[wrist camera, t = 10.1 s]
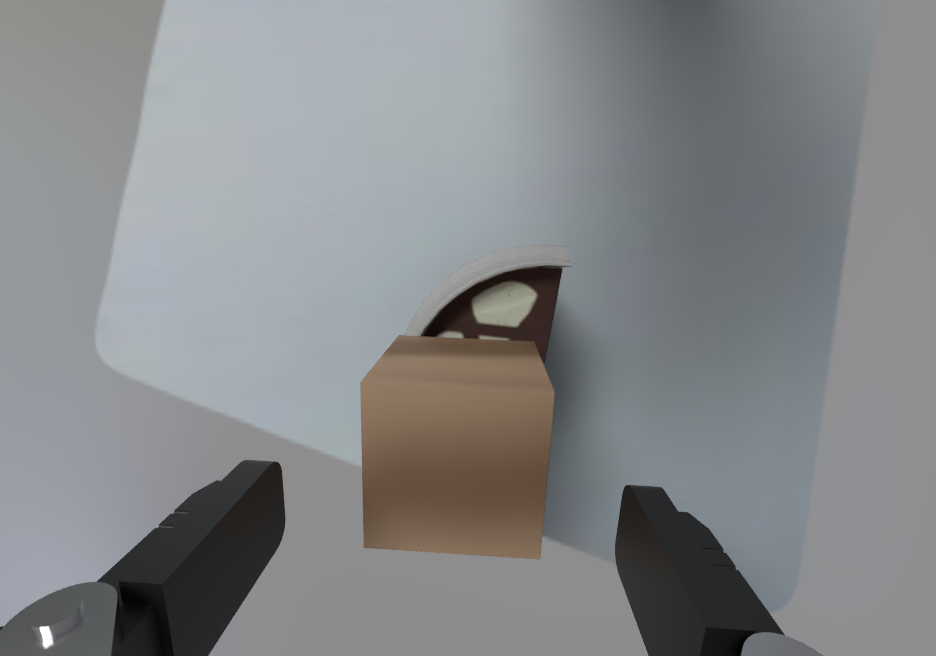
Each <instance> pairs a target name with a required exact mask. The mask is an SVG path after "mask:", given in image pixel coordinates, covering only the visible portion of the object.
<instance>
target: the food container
mask: <svg viewBox="0 0 936 656" xmlns="http://www.w3.org/2000/svg"><path fill="white" fill-rule="evenodd" d="M569 259H570V254H569V252H568V251H567V249H566V247H565V246H554V245H534V246H523V247H515V248H511V249H507V250H503V251H499V252H496V253H492V254H490V255H487V256H485V257H483V258H480V259H478V260H476V261H473V262H471V263H469V264H468V265H466V266H465V267H463V268H461V269H460V270H458V271H457V272H455V273H453V274H452V275H450V276H449V277H448V278H447V279H446V280H445V281H443V282H442V283H441V284H440V285H439V286H438V287H437V288H435V289H434V290H433V291H432V292H431V294H430V295H429V296H428V297H427V298H426V300H425V301H424V302H423V303H422V305H421V306H420V307H419V308H418V310H417V311H416V313H415V315H414V316H413V318H412V320H411V322H410V323H409V325H408V327H407V329H406V331H405V334H404V335H405V336H426V337H447V338H468V339H489V340H510V341H531V342H535V345H536V347H537V350H538V352H539V355H540V357H541V359H542V362H543V364H544V363H545V358H546V352H547V347H548V342H549V337H550V331H551V326H552V321H553V316H554V311H555V306H556V301H557V295H558V290H559V284H560V279H561V274H562V268H561V267H570V266H572V264H571V263H570V262H569Z"/></svg>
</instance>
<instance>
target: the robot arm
mask: <svg viewBox="0 0 936 656" xmlns="http://www.w3.org/2000/svg"><path fill="white" fill-rule="evenodd" d="M284 528H285V507H284V493H283V479H282V469H281V466H280V464H279V463H278V462H270V461H256V460H244V461H242V462H241V463H240V464H238V466H236V467H235V468H234V469H233V470H232V471H231V472H230V473H229V474H228V475H227V476H226V477H225V478H224V479H223V480H222V481H215V482H213V483H211V484H210V485H208V486H206V487H204V488H202V489H200V490H199V491H197V492H195V493H193V494H192V495H191V496H190V497H189V498H187V499H186V500H185V501H184V502H183V503H182V504H181V505H180V506H179V507H178V508H177V509H176V510H175V511H174V514H170V515H169V516H168V517H167V518H166V519H165V520H164V521H162V522H161V523H160V524H159V527H158V528H155V529H154V530H153V531H151V532H150V533H149V534H148V535H147V536H146V537H145V538H144V539H143V540H142V541H141V542H140V543H138V544H137V545H136V546H135V547H134V548H133V549H132V550H131V551H130V552H129V553H127V554H126V555H125V556H124V557H123V558H122V559H121V560H120V561H119V562H118V563H117V564H115V565H114V566H113V567H112V568H111V569H110V570H109V571H108V572H107V573H106V574H105V575H103V576H102V577H101V578H100V579H99V580H98V581H97V582H87V583H81V584H76V585H73V586H69V587H66V588H63V589H61V590H58V591H56V592H53V593H51V594H49V595H47V596H45V597H43V598H41V599H39V600H37V601H36V602H34V603H32V604H31V605H29V606H28V607H26V608H25V609H23V610H22V611H21V612H19V613H18V614H17V615H15V616H14V617H13V618H12V619H11V620H10V621H9V622H8V623H7V624H6V625H5V626H3V627H0V656H208V655H209V653H210V652H211V650H212V649H213V647H214V646H215V644H216V642H217V641H218V639H219V638H220V637H221V635H222V633H223V632H224V630H225V629H226V627H227V626H228V624H229V623H230V621H231V620H232V618H233V616H234V615H235V613H236V612H237V610H238V609H239V607H240V606H241V604H242V602H243V601H244V599H245V598H246V596H247V595H248V593H249V592H250V590H251V589H252V587H253V586H254V584H255V582H256V581H257V579H258V578H259V576H260V575H261V573H262V572H263V570H264V569H265V567H266V566H267V564H268V562H269V561H270V559H271V558H272V556H273V555H274V553H275V552H276V550H277V548H278V547H279V545H280V542H281V540H282V536H283V533H284ZM615 556H616V564H617V569H618V573H619V576H620V579H621V581H622V584H623V587H624V589H625V592H626V595H627V598H628V600H629V603H630V606H631V608H632V611H633V614H634V617H635V620H636V622H637V625H638V628H639V630H640V633H641V636H642V638H643V641H644V644H645V647H646V650H647V652H648V655H649V656H823V655H821V654H820V653H818V652H817V651H816V650H814V649H813V648H811V647H809V646H807V645H805V644H804V643H802V642H799V641H797V640H795V639H793V638H790V637H787V636H785V635H784V633H783V632H782V631H781V629H780V628H779V626H778V625H777V624H776V622H775V621H774V619H773V618H772V616H771V615H770V614H769V612H768V611H767V609H766V608H765V607H764V605H763V604H762V602H761V601H760V600H759V598H758V597H757V595H756V594H755V593H754V591H753V590H752V588H751V587H750V586H749V584H748V583H747V581H746V580H745V579H744V577H743V576H742V574H741V573H740V572H739V570H736V568H735V565H734V563H733V562H732V560H731V559H730V558H729V556H728V555H727V553H724V551H723V548H722V546H721V545H720V544H719V542H718V541H717V539H716V538H715V537H714V535H713V534H712V532H711V531H710V530H709V529H708V528H707V527H706V526H704V525H703V524H702V523H701V522H699V521H698V520H697V519H696V518H694V517H693V516H692V515H691V514H689V513H688V512H678V511H677V509H676V508H675V506H674V505H673V503H672V502H671V500H670V498H669V497H668V495H667V494H666V492H665V491H664V490H663V489H662V488H661V487H651V486H635V485H626V486H625V488H624V490H623V494H622V501H621V508H620V515H619V522H618V528H617V535H616V543H615Z"/></svg>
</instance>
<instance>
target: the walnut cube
mask: <svg viewBox="0 0 936 656" xmlns="http://www.w3.org/2000/svg"><path fill="white" fill-rule="evenodd" d="M360 383H361V432H362V479H363V525H364V526H363V527H364V548H375V549H390V550H405V551H420V552H436V553H451V554H467V555H482V556H498V557H513V558H514V557H515V558H529V559H540V554H541V543H542V532H543V521H544V509H545V498H546V487H547V476H548V464H549V453H550V442H551V431H552V419H553V408H554V397H555V391H554V389H553V386H552V384H551V381H550V379H549V377H548V374H547V372H546V369H545V367H544V364H543V362H542V359H541V357H540V355H539V352H538V350H537V347H536V345H535V342H531V341H510V340H489V339H468V338H447V337H426V336H405V335H399V336H398V337H397V338H396V340H395V341H394V342H393V343H392V344H391V346H390V347H389V348H388V349H387V351H386V352H385V353H384V354H383V355H382V357H381V358H380V359H379V360H378V361H377V363H376V364H375V365H374V366H373V368H372V369H371V370H370V371H369V372H368V374H367V375H366V376H365V377H364V379H363V380H362V381H361V382H360Z"/></svg>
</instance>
